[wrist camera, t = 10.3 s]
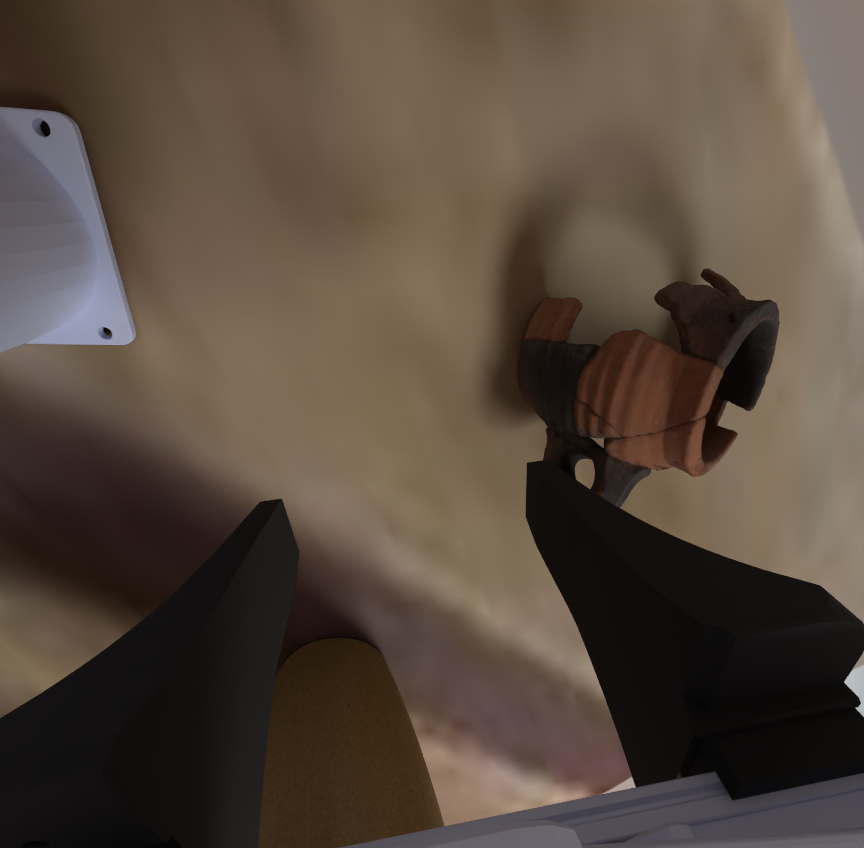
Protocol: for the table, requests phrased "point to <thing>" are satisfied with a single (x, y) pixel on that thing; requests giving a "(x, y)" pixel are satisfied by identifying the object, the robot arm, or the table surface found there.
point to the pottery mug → (648, 384)
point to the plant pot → (341, 753)
